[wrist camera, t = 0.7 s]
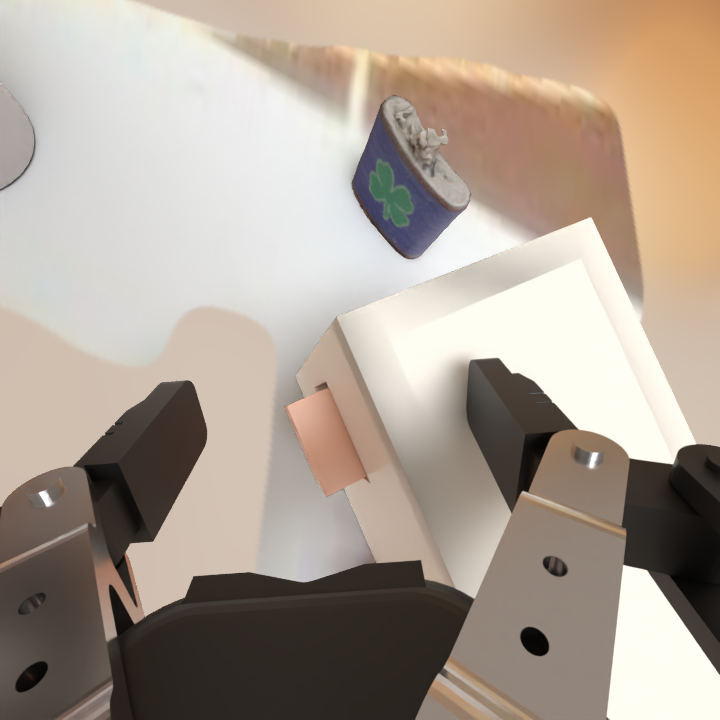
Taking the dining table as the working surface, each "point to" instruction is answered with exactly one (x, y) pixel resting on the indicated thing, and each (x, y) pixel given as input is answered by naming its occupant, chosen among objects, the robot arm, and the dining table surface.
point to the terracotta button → (325, 441)
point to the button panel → (462, 454)
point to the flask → (407, 180)
